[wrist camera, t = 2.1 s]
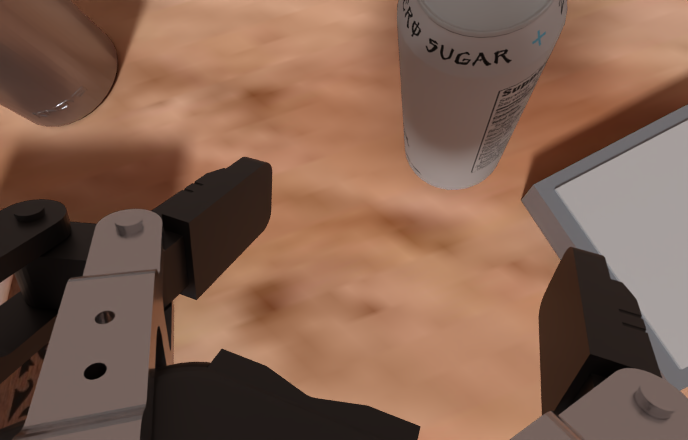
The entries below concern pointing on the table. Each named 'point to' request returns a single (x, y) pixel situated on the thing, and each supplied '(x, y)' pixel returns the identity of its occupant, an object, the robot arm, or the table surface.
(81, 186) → the table surface
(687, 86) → the table surface
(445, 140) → the energy drink can
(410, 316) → the table surface
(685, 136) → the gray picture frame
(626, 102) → the table surface
